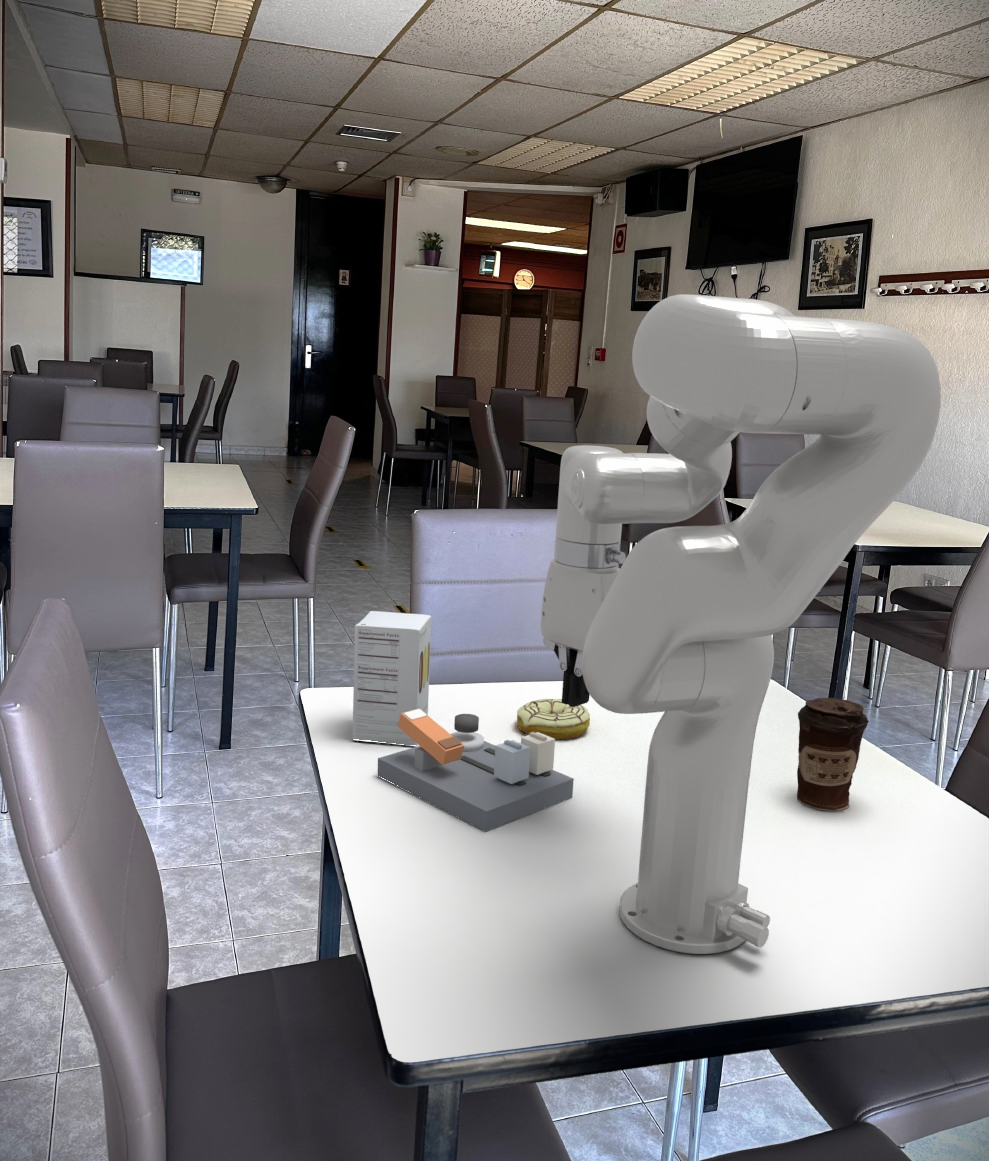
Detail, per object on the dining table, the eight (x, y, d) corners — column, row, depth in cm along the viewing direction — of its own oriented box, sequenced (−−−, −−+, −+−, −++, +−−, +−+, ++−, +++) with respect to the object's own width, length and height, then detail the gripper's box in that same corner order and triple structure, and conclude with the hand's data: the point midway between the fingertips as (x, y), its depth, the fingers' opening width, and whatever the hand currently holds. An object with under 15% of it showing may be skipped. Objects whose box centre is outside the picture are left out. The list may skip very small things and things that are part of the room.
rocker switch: (460, 759, 125) (464, 744, 125) (442, 765, 123) (446, 749, 122) (416, 721, 131) (419, 707, 130) (397, 726, 129) (401, 712, 128)
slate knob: (528, 778, 124) (530, 744, 123) (511, 784, 122) (513, 749, 121) (511, 770, 126) (512, 737, 125) (493, 776, 124) (495, 742, 123)
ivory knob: (553, 769, 127) (555, 735, 127) (536, 775, 125) (538, 741, 124) (535, 761, 130) (537, 729, 129) (519, 767, 127) (521, 734, 127)
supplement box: (416, 748, 140) (420, 630, 136) (351, 742, 141) (353, 625, 137) (428, 724, 149) (432, 613, 146) (367, 719, 150) (369, 609, 147)
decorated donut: (514, 717, 155) (515, 693, 154) (584, 719, 155) (586, 696, 154) (517, 741, 145) (519, 716, 144) (592, 744, 145) (594, 719, 144)
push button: (483, 729, 135) (483, 718, 134) (465, 734, 132) (466, 723, 132) (467, 722, 137) (467, 712, 137) (449, 727, 135) (449, 717, 134)
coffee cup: (862, 821, 123) (875, 720, 121) (791, 812, 125) (803, 712, 122) (852, 793, 132) (864, 697, 129) (786, 785, 133) (796, 690, 131)
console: (572, 797, 126) (574, 759, 125) (485, 831, 116) (487, 791, 115) (463, 749, 140) (465, 715, 139) (377, 776, 130) (378, 739, 129)
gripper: (658, 562, 115) (644, 714, 119) (560, 539, 125) (550, 680, 129) (616, 570, 110) (603, 729, 114) (518, 545, 120) (509, 692, 124)
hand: (575, 702), depth 122 cm, fingers closed
